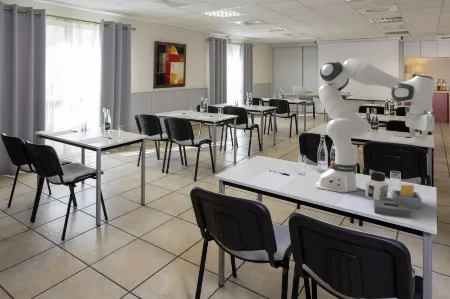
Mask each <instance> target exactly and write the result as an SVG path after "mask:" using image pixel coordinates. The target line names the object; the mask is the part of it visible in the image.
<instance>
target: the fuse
mask: <svg viewBox="0 0 450 299" xmlns="http://www.w3.org/2000/svg"><path fill="white" fill-rule="evenodd" d="M414 189H415V186H414V185H413V184H401V185H400V194H401V197H409V198H412V196H413V192H415V190H414Z"/></svg>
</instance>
